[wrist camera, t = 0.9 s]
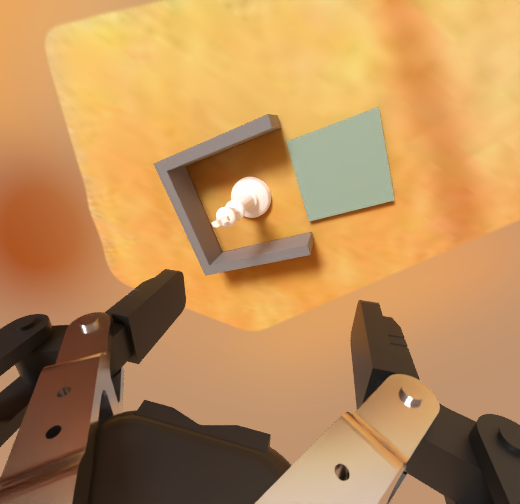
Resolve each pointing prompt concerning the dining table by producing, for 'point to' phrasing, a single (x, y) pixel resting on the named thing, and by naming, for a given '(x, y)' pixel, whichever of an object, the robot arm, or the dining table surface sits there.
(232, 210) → the chess piece
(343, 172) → the mat
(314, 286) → the dining table surface
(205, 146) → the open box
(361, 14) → the dining table surface
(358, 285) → the dining table surface
